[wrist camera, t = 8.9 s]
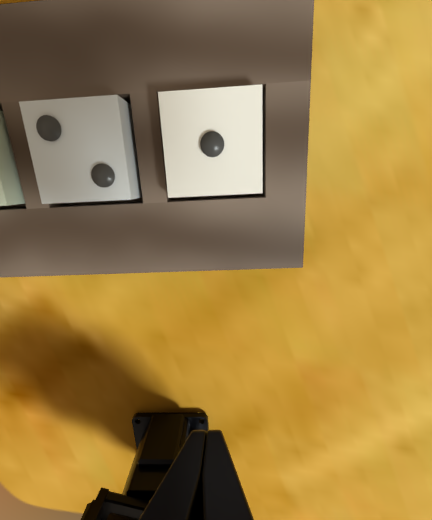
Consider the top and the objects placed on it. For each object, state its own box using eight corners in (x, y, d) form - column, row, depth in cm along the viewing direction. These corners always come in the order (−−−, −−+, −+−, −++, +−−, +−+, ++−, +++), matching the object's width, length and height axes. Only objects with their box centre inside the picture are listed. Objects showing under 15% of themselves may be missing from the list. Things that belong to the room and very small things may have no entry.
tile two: (147, 196, 18) (130, 199, 15) (72, 199, 18) (40, 204, 15) (137, 109, 16) (116, 93, 13) (55, 115, 16) (16, 100, 13)
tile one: (256, 190, 17) (262, 193, 14) (178, 194, 18) (167, 198, 14) (256, 101, 16) (262, 83, 13) (170, 107, 16) (157, 90, 13)
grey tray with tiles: (291, 254, 19) (302, 267, 16) (-31, 265, 21) (-73, 279, 18) (298, 12, 15) (314, -26, 12) (-101, 47, 17) (-169, 20, 14)
